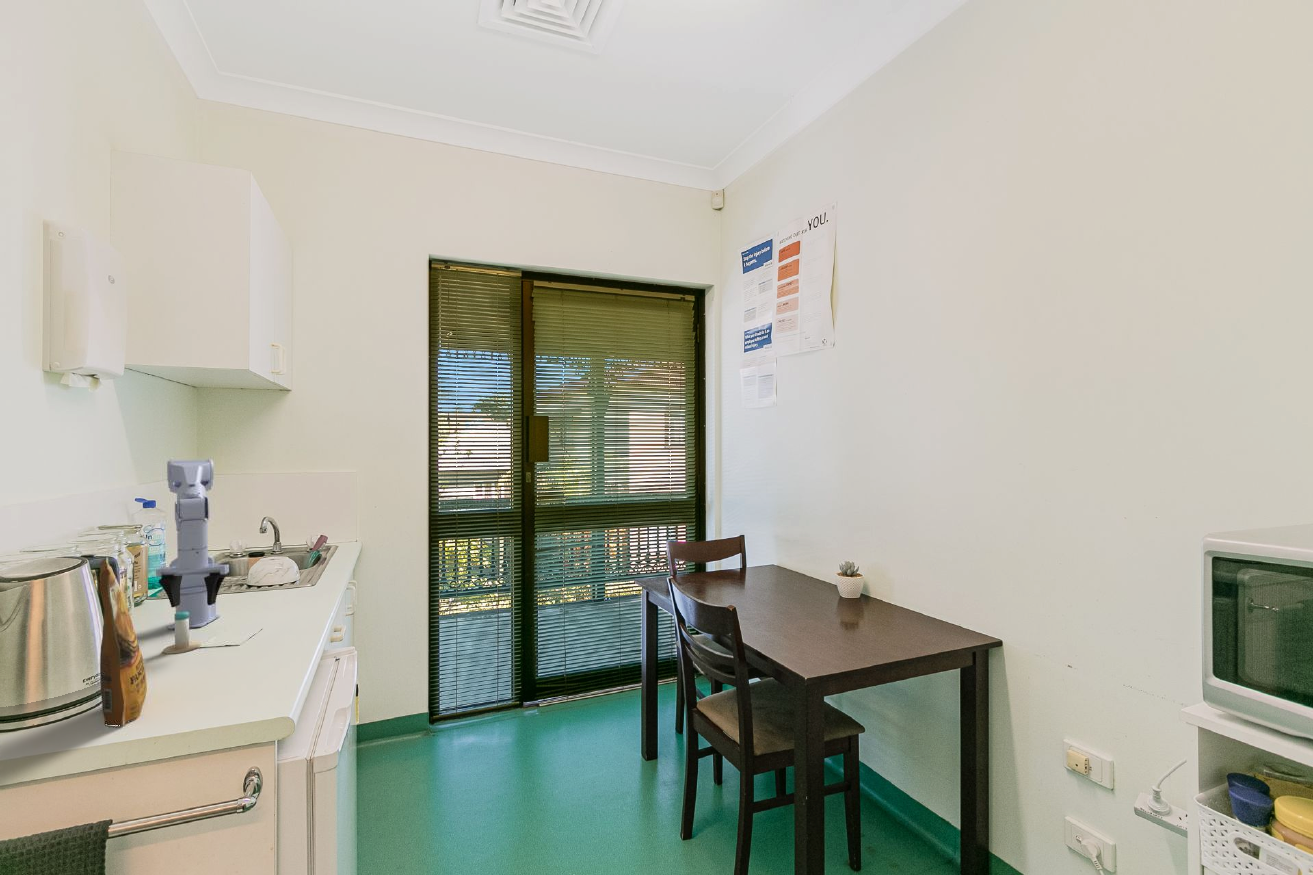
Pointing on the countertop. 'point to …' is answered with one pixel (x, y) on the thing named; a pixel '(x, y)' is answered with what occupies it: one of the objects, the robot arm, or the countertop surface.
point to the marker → (181, 630)
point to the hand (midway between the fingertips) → (193, 605)
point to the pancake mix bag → (119, 656)
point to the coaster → (191, 646)
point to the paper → (220, 643)
